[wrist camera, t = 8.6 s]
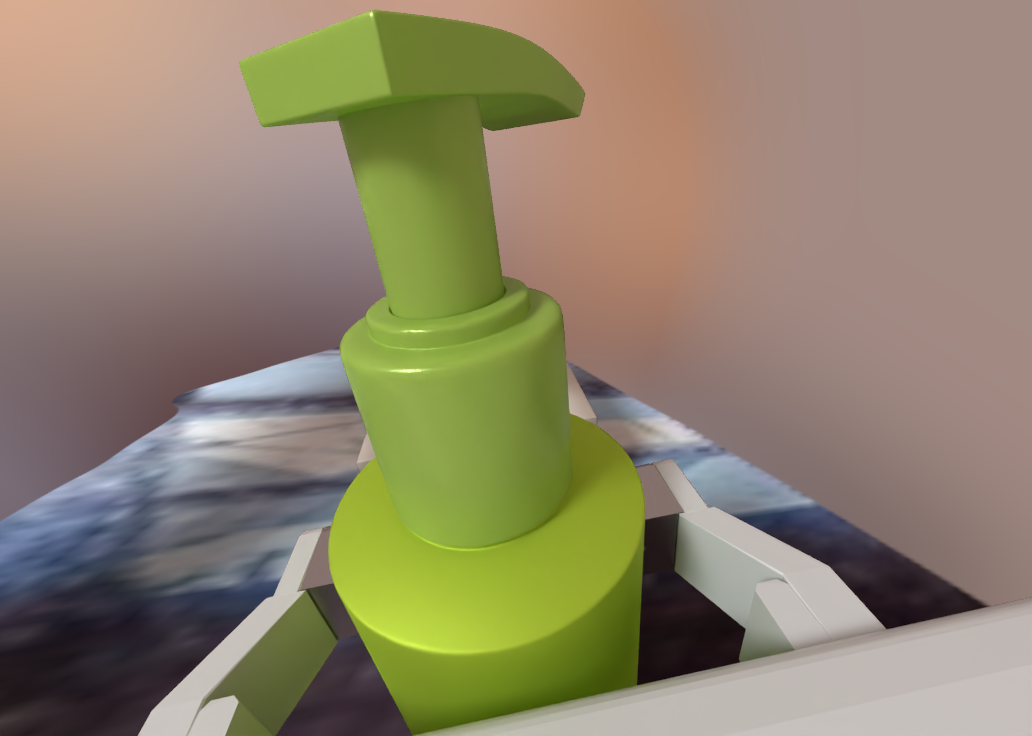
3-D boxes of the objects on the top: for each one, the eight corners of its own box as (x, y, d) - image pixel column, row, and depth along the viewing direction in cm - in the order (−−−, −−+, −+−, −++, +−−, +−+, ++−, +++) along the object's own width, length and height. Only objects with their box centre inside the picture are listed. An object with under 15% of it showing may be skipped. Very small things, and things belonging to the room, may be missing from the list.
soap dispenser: (653, 683, 16) (709, 31, 6) (602, 969, 10) (483, -448, 1) (518, 622, 18) (417, 98, 9) (423, 825, 13) (-72, 63, 4)
